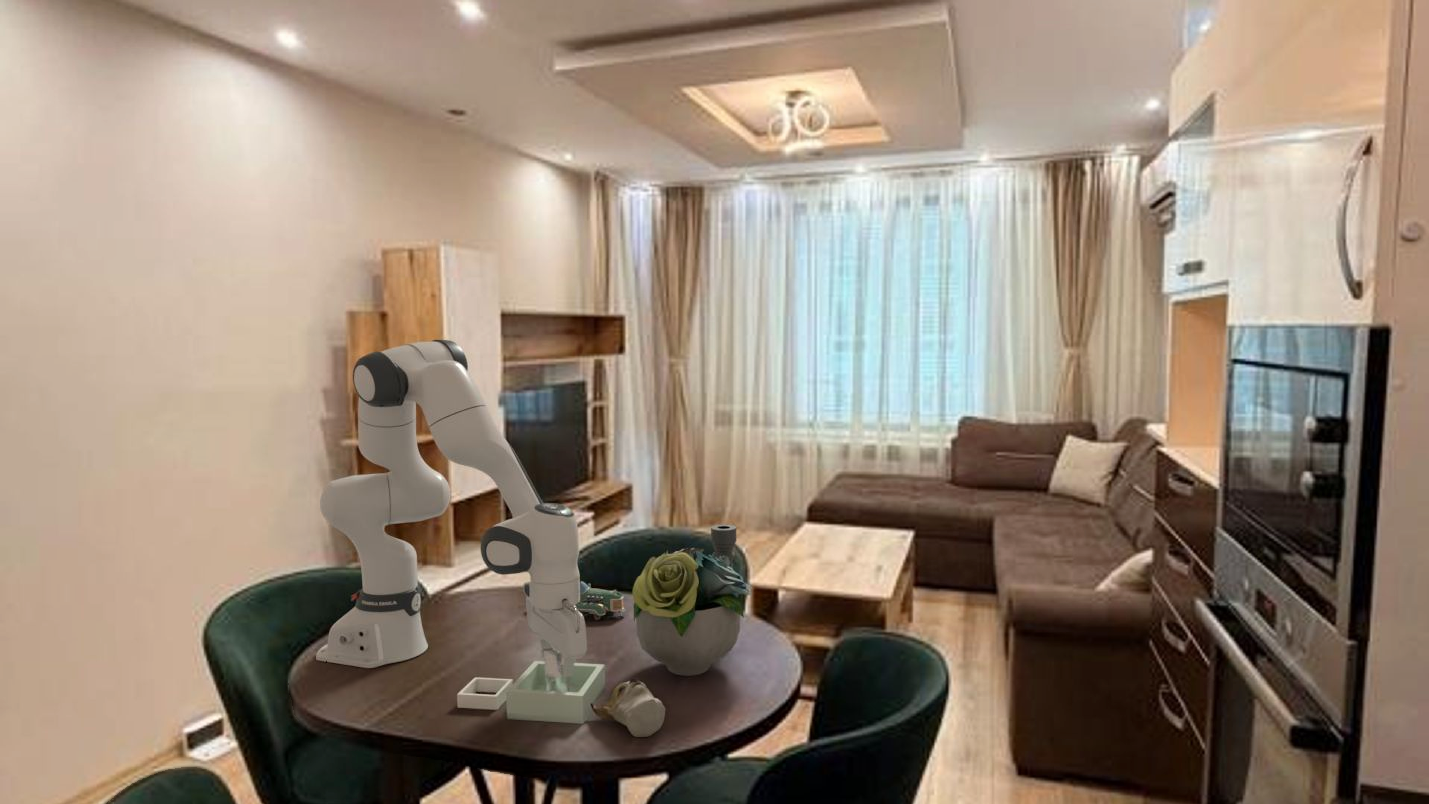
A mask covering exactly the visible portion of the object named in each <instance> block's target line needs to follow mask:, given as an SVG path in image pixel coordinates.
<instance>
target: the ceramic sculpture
mask: <svg viewBox="0 0 1429 804" xmlns="http://www.w3.org/2000/svg"><path fill="white" fill-rule="evenodd" d="M610 697H611V698H610V700H609V701H603V702H600V703H596V704H594V703H590V705H591V707H592V712H593V713H594V714H595V715H596V716H597V717H599V718H600V719H603V720H606V721H616V722H618V723H620V724H621V725H623V726H626V727H627V729H628V731H629V732H630V734H631V735H632V736H633V737H635V738H647V737H651V736H652V735H653V734H655V733H656V732H658V731H659V730H660V729H661V727H662V726H663V723H664V721H665V715H666V707H665V706H664V704H663V703H662V701H661V700H660V699H659V698H656V697H654V695H653V693H652V692H651V691H650V690H649V688H647V686H646V684H645V683H644V682H642V681H640V680H639V679H638V678H635V677H633V678H631V679H630V680H629V681H628V680H627V681H626V682H621V683H619V684H618V685H617V686H616V687H615V688H614V689H613V692H612V693H611V696H610Z"/></svg>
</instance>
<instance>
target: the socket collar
mask: <svg viewBox="0 0 1429 804" xmlns="http://www.w3.org/2000/svg"><path fill="white" fill-rule="evenodd" d="M513 684H514V679H512V678H496V677H495V678H494V677H474V678H473V679H472V680H470V681H469V682H468V683H467V684H466V685H465V686H464V687H463V688H462V689H461V690H460V691H459V692H457V694H456V696H457V697H456V701H457V705H456V706H457V708H459V709H461V708H463V709H476V710H495V711H497V710H499V708H500V707H501V706H502V705H503V704H504V703H505V702H506V691H507V690H508V689H509V688H510V687H511V686H512V685H513ZM477 692H479V693H480V694H479V693H477ZM483 692H484V693H483ZM482 693H483V694H482ZM485 693H496V694H485Z"/></svg>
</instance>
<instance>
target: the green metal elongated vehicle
mask: <svg viewBox="0 0 1429 804" xmlns="http://www.w3.org/2000/svg"><path fill="white" fill-rule="evenodd" d="M591 586H592V585H591V582H590V583H586V582H584V581H582V580H580V601H579V603H577V604H576V607H577V611H579V612H580V613H581V614H582V615H583V617H584V618H585V617H586V616H587V613H588V614H589V615H593V618H594V620H596V621H598V620H601V618H602V616H603V617H605V618H607V619H611V617H610V616H606V614H607V613H608V615H611V616H615V618H614V617H612V619H615V620H620V619H622V618H623V616H624V615H625V614H626V612H627V610H626V608H624V595H623V594H622V593H621V592H619V591H617V589H613V590H607V589H601V588H592V587H591ZM610 612H613V613H610ZM617 617H618V618H617Z"/></svg>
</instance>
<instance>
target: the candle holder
mask: <svg viewBox="0 0 1429 804" xmlns="http://www.w3.org/2000/svg"><path fill="white" fill-rule="evenodd" d="M710 541H711V543H712V544H711V545H712V547H713V549H714V552H713V553H712V554H711V556H712V555H713V556H715V557H716V558H717V559H718V558H719V557H720V556H721V557H722V560H723V559H724V558H723V556H727V557H729V561H730V564H729V567H730V568H732V570H734V569H733V560H734V559H735V557H736V553H735V552H734V551H733V550H734V547H735V546H736V542H737V526H735V525H733V524H716V525H712V526H711V527H710ZM736 597H738V598H739V596H738V595H737V596H736Z"/></svg>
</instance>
